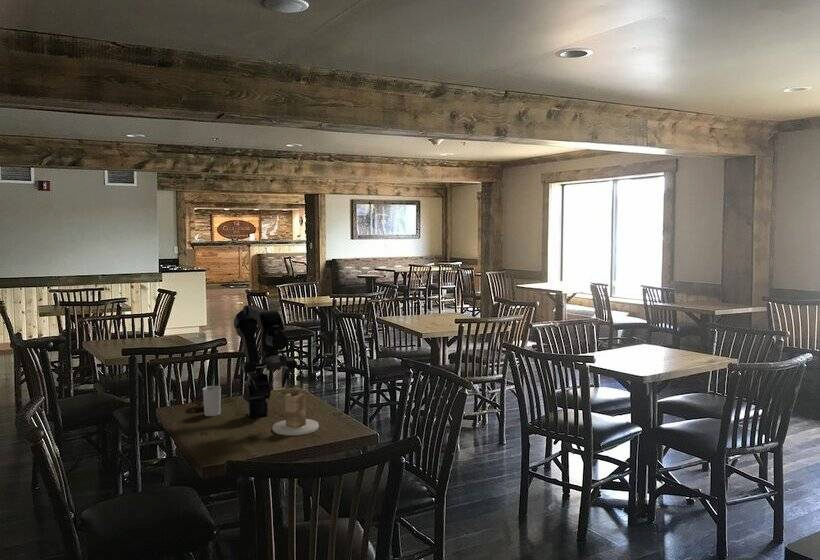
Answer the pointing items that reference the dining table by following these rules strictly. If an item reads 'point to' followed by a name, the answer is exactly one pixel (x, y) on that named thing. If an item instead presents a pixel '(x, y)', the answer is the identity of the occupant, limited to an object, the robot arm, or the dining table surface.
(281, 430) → the cream plate
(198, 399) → the pottery mug
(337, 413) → the dining table surface
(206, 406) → the drinking glass
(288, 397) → the pepper mill
